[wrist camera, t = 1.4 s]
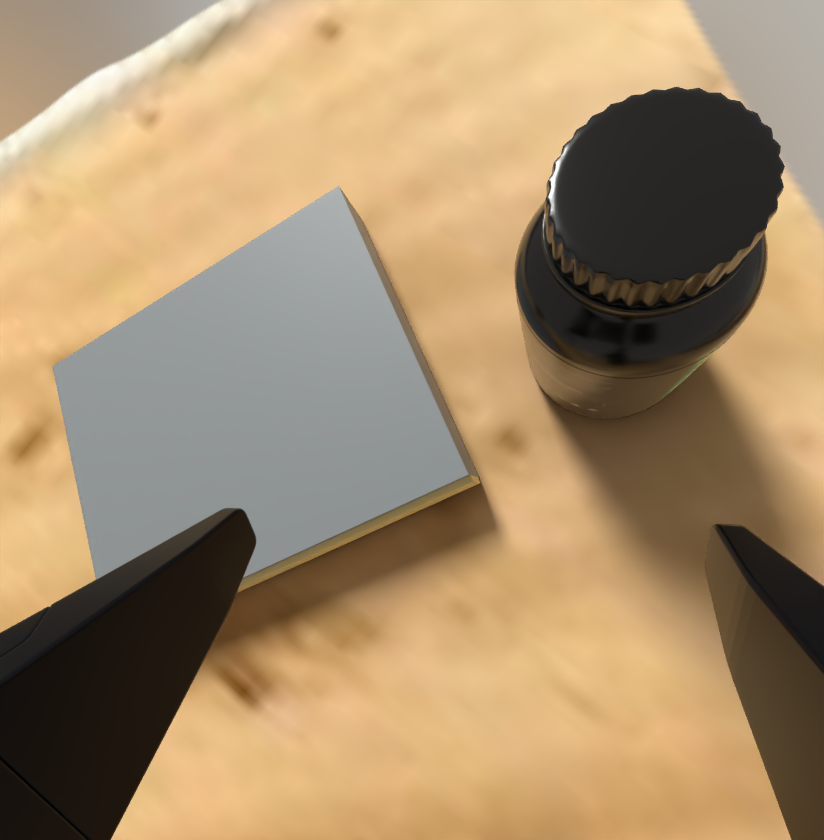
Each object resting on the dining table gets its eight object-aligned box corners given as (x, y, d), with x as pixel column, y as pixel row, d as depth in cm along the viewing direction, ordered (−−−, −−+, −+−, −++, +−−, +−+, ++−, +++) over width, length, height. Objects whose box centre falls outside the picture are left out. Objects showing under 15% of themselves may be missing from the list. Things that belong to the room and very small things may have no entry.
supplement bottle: (711, 394, 20) (917, 258, 9) (552, 439, 22) (550, 373, 10) (655, 257, 22) (765, -10, 10) (510, 308, 23) (468, 126, 12)
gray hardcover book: (481, 483, 22) (471, 481, 19) (157, 629, 26) (109, 645, 23) (361, 219, 27) (338, 185, 24) (99, 378, 30) (52, 366, 28)
